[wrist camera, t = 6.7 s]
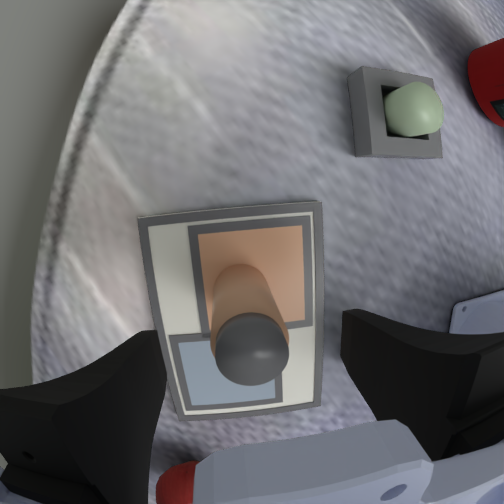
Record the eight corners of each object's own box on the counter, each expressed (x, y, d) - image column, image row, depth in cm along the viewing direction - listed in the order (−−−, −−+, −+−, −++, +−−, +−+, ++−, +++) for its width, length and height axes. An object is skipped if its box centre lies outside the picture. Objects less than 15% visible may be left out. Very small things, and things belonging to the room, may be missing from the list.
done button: (409, 97, 16) (439, 86, 12) (414, 140, 16) (446, 135, 13) (371, 92, 15) (398, 77, 12) (376, 137, 16) (405, 130, 13)
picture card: (318, 201, 17) (322, 201, 17) (318, 400, 20) (320, 405, 20) (140, 217, 17) (137, 218, 16) (180, 414, 20) (179, 421, 19)
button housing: (413, 86, 16) (432, 78, 14) (422, 159, 17) (442, 157, 15) (347, 77, 16) (361, 66, 14) (355, 156, 17) (372, 154, 15)
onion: (223, 484, 22) (227, 555, 14) (159, 475, 21) (150, 546, 13) (235, 446, 21) (243, 529, 13) (162, 436, 20) (148, 518, 12)
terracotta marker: (266, 261, 17) (294, 314, 10) (269, 311, 18) (295, 384, 11) (210, 266, 17) (203, 323, 10) (217, 317, 18) (215, 393, 11)
